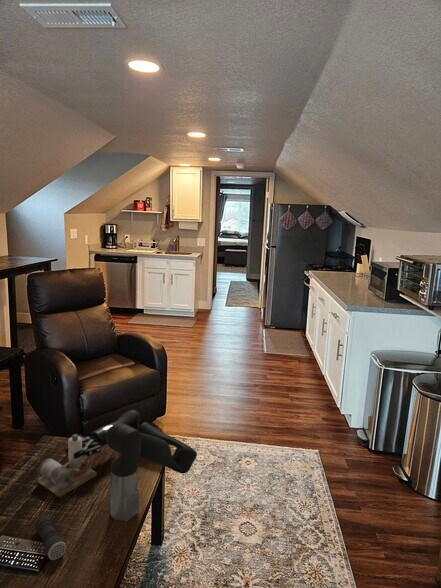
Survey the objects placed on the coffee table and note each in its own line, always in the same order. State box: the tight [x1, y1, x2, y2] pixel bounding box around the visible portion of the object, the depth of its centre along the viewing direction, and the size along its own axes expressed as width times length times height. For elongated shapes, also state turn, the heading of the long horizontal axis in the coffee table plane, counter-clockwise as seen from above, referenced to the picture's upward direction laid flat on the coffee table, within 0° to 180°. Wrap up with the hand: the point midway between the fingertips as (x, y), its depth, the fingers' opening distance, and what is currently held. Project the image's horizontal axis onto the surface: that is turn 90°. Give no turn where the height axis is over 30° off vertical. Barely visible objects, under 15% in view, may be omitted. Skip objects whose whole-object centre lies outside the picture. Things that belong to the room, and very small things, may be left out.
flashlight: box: [34, 515, 67, 561], centre depth 132 cm, size 15×5×5 cm, turn 40°
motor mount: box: [37, 457, 97, 498], centre depth 163 cm, size 15×17×8 cm
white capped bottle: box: [67, 433, 83, 468], centre depth 165 cm, size 5×5×13 cm
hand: (69, 453), depth 163 cm, fingers closed on white capped bottle, 5 cm apart
